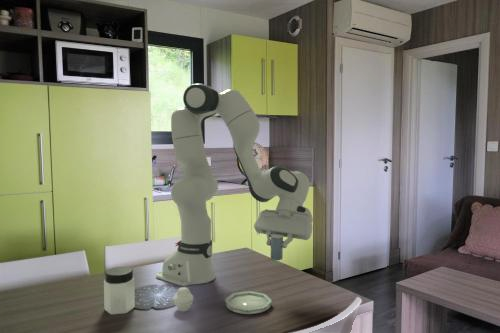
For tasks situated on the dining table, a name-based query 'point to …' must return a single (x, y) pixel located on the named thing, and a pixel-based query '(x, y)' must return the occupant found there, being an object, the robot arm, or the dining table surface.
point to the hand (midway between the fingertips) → (276, 245)
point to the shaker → (276, 247)
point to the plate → (248, 302)
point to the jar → (119, 290)
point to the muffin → (183, 299)
